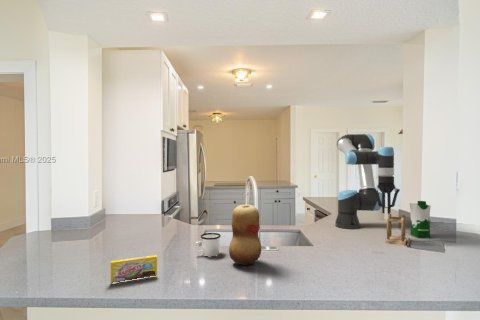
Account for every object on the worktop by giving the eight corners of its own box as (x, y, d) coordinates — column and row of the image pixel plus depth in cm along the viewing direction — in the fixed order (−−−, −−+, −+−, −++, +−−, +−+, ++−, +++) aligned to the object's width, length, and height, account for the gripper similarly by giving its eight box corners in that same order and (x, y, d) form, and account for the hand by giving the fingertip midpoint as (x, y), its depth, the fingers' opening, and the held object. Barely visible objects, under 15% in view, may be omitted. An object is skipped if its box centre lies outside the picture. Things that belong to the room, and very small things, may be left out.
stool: (385, 242, 148) (385, 216, 148) (387, 238, 155) (387, 213, 155) (405, 245, 143) (405, 218, 143) (406, 241, 150) (406, 215, 150)
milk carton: (415, 238, 156) (415, 201, 156) (407, 233, 165) (407, 199, 165) (432, 238, 155) (432, 202, 155) (423, 234, 164) (423, 199, 164)
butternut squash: (238, 272, 111) (237, 209, 111) (224, 261, 123) (223, 204, 123) (267, 266, 118) (267, 206, 117) (251, 256, 129) (251, 201, 129)
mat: (409, 247, 140) (409, 247, 140) (411, 240, 151) (411, 240, 151) (444, 252, 132) (444, 252, 132) (443, 244, 143) (443, 244, 143)
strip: (406, 247, 140) (406, 244, 140) (408, 240, 152) (408, 238, 152) (408, 247, 140) (408, 245, 140) (410, 240, 152) (410, 238, 152)
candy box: (110, 285, 101) (110, 262, 101) (110, 283, 103) (110, 260, 103) (157, 277, 108) (157, 256, 107) (156, 275, 109) (156, 254, 109)
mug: (217, 250, 139) (217, 231, 139) (223, 256, 130) (223, 236, 130) (193, 253, 135) (193, 234, 135) (197, 259, 126) (197, 239, 126)
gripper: (371, 175, 152) (372, 219, 152) (399, 176, 145) (399, 222, 145) (374, 175, 158) (374, 217, 158) (400, 175, 151) (401, 219, 151)
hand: (386, 219), depth 151 cm, fingers closed
